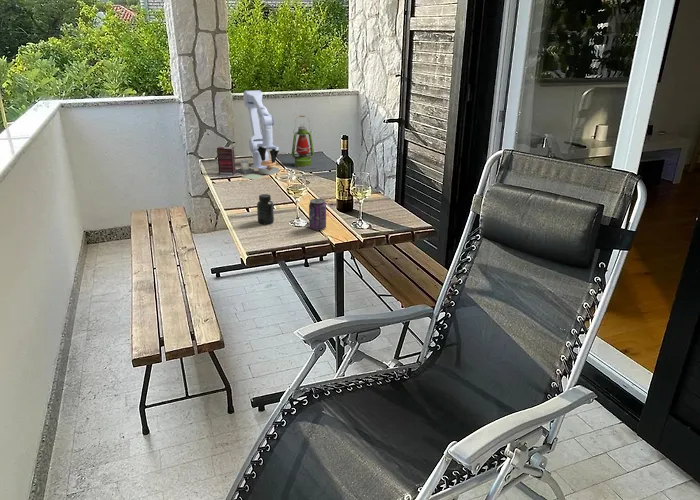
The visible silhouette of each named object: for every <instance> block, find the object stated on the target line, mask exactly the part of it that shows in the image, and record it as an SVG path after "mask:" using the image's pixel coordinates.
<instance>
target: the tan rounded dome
mask: <svg viewBox="0 0 700 500" xmlns="http://www.w3.org/2000/svg"><path fill="white" fill-rule="evenodd" d="M261 165H263V166H267V169H271V167H270V166H272V167H275V166H276V165H277V161H275V162H274V163H272V161H271V160H270V159H269V160H268V161H262V162H261Z"/></svg>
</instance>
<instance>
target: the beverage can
mask: <svg viewBox="0 0 700 500" xmlns="http://www.w3.org/2000/svg"><path fill="white" fill-rule="evenodd" d="M308 224H309V225H308V227H309V229H312V230H314V231H320V230H321V231H322V230H323V229H325V228H326V227H327V204H326V200H325V199H324V198H312V199H310V200H309V204H308Z"/></svg>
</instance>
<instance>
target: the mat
mask: <svg viewBox="0 0 700 500" xmlns="http://www.w3.org/2000/svg"><path fill="white" fill-rule="evenodd" d="M263 177H265V176H264V175H263V174H255V173H251V174H247V175H242V176H241V178H243V179H247V180H248V179H249V180H252V181H253V180H256V179H261V178H263Z"/></svg>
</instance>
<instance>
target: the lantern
mask: <svg viewBox="0 0 700 500" xmlns="http://www.w3.org/2000/svg"><path fill="white" fill-rule="evenodd" d="M298 118H307V119H308V123H309V124H308V127H307V126H304V125H303V124H300V126H298V127H297V125H296V124H297V123H296V122H297V120H298ZM310 121H311V120H310V118H309V117H308V116H306V115H298V116H297V117H296V118H295V120H294V125H295V126H294V129H293V139H292V146H291V158H292V159H294V165H295V166H298V167H305V166H310V165H312V158H314V156H315V151H314V143H313V138H312V137H313V136H312V129H311V124H310ZM296 127H297V128H298V131H296ZM307 128H309V130H310V131H308V129H307ZM295 131H296V132H295ZM297 135H299V136H298V139H297ZM307 135H308V137H307ZM308 139H309V142H308ZM296 141H297V142H296ZM295 153H296V154H298V156H295ZM309 153H310V155H308V154H309ZM295 166H294V167H295Z"/></svg>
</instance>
